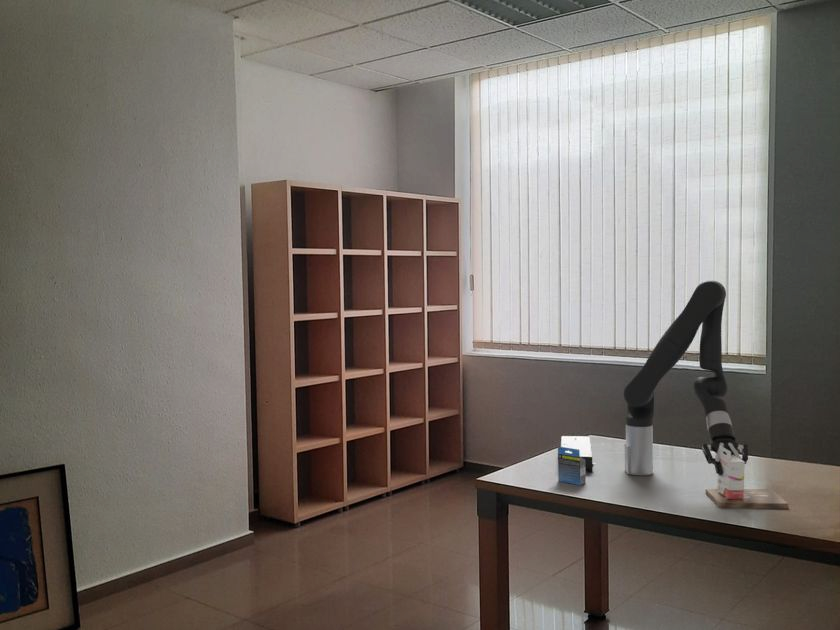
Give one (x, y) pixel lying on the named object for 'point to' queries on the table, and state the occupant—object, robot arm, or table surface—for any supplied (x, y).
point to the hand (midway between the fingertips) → (731, 474)
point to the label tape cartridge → (571, 466)
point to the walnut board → (748, 499)
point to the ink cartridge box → (731, 475)
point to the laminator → (579, 448)
